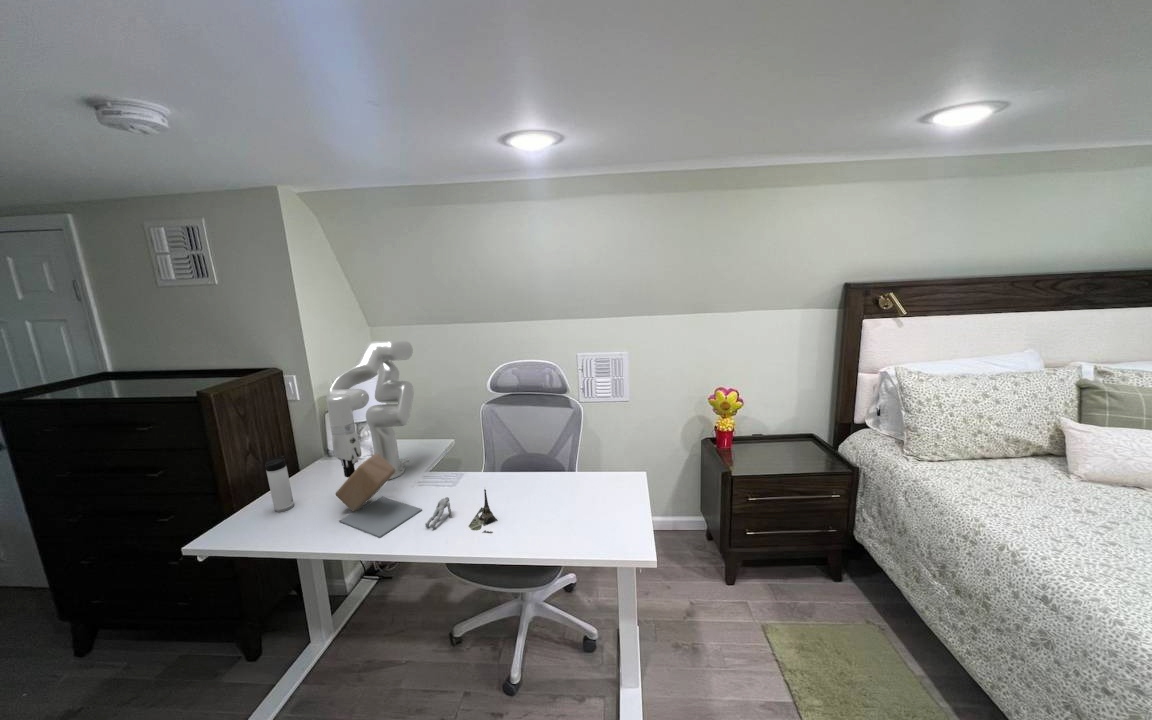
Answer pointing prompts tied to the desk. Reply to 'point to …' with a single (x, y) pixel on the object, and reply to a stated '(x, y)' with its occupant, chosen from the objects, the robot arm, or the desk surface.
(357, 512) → the mat
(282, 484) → the travel mug
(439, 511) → the grey humanoid figure
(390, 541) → the desk surface
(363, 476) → the block
